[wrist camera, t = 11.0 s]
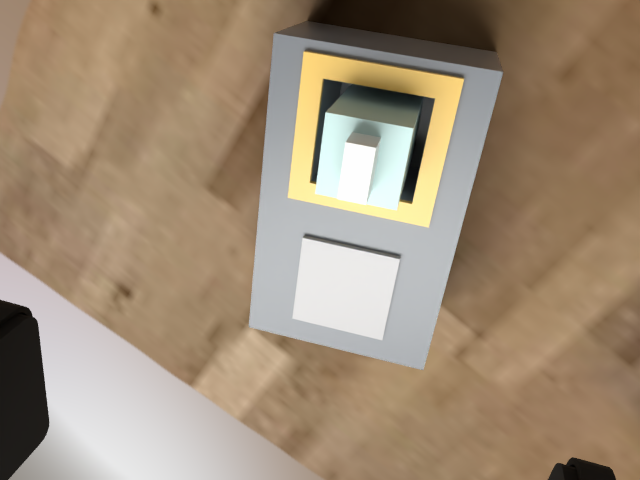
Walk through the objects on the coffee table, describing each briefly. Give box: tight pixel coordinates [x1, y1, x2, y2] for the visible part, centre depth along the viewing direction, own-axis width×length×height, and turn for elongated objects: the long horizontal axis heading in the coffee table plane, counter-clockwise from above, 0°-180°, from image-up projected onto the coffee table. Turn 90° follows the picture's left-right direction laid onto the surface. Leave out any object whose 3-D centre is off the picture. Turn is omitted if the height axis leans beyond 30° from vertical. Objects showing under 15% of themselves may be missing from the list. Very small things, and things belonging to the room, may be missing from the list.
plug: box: [315, 84, 424, 210], centre depth 27 cm, size 4×4×10 cm
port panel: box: [249, 21, 503, 370], centre depth 31 cm, size 16×10×6 cm, turn 173°
